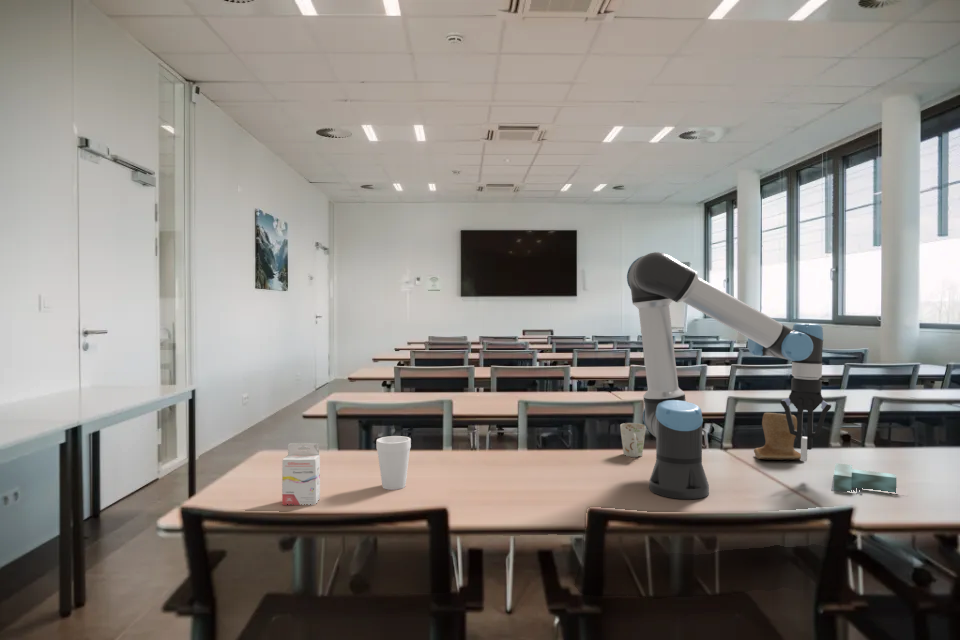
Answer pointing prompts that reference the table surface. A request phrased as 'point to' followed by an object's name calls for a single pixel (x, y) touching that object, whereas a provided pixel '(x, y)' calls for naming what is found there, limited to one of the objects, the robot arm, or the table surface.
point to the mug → (633, 438)
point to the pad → (846, 491)
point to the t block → (862, 479)
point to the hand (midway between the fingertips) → (803, 460)
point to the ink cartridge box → (301, 475)
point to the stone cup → (777, 438)
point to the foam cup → (393, 460)
